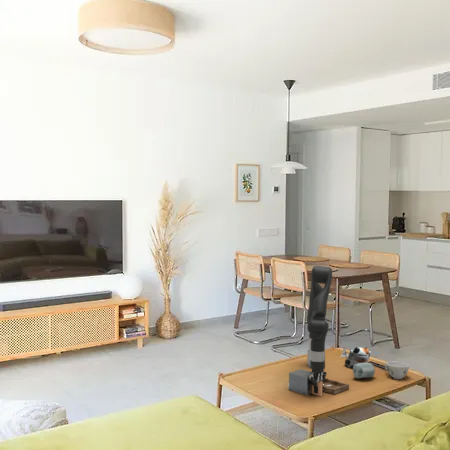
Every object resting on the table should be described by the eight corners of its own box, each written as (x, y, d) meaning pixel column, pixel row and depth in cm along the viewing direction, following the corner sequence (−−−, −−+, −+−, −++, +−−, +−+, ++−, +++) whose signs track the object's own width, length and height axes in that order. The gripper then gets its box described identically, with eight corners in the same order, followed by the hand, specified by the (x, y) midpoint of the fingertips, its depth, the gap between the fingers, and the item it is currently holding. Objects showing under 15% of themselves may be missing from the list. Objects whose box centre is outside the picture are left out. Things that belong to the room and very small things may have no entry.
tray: (309, 387, 290) (309, 382, 290) (324, 382, 299) (324, 377, 299) (334, 395, 278) (334, 390, 278) (348, 389, 287) (349, 384, 287)
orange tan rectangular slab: (304, 391, 284) (305, 378, 283) (306, 390, 285) (306, 377, 284) (320, 396, 276) (320, 382, 276) (322, 395, 277) (322, 381, 277)
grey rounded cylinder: (358, 379, 297) (364, 361, 299) (346, 374, 306) (351, 357, 307) (375, 384, 304) (380, 366, 305) (363, 379, 312) (368, 362, 314)
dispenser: (288, 389, 286) (289, 372, 286) (300, 385, 293) (301, 369, 293) (307, 395, 277) (307, 378, 277) (319, 391, 284) (319, 374, 284)
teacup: (413, 378, 307) (414, 364, 306) (399, 382, 300) (399, 368, 299) (391, 372, 319) (392, 358, 319) (377, 375, 312) (378, 361, 312)
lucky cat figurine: (365, 364, 334) (366, 342, 333) (373, 371, 322) (374, 348, 321) (342, 364, 332) (343, 342, 331) (349, 371, 320) (350, 348, 319)
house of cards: (351, 362, 340) (351, 350, 340) (338, 360, 345) (338, 348, 345) (356, 358, 348) (356, 346, 348) (343, 356, 353) (343, 345, 352)
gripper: (319, 355, 286) (319, 388, 286) (303, 360, 276) (303, 393, 277) (331, 358, 280) (331, 391, 281) (315, 363, 271) (315, 397, 271)
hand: (317, 392), depth 279 cm, fingers closed on orange tan rectangular slab
